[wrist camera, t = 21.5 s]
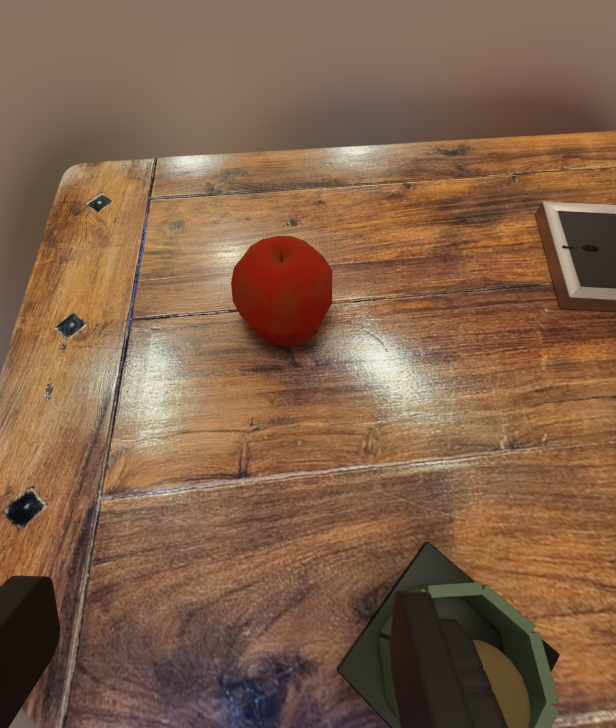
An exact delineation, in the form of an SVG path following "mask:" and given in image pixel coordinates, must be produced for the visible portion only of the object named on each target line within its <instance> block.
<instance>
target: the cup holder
mask: <svg viewBox="0 0 616 728" xmlns="http://www.w3.org/2000/svg"><path fill="white" fill-rule="evenodd" d="M396 591H419V592H429V593H430V594H431V596H432V599H433V602H434V605H435V608H436V610H437V613H438V616H439V618H441V619H456V620H457V622H458V623H459V624H460V625H461V626H462V628H463V629H464V630H465V631H466V632H467V634H468V635H469V636H470V637H471V638H472V640H480V641H483V642H486V643H488V644H490V645H492V646H494V647H496V648H497V649H498V650H500V651H501V652H502V653H503V654H504V655H505V656H506V657H508V658H509V659H510V661H511V662H512V663H513V665H514V666H515V667H516V669H517V670H518V672H519V673H520V675H521V676H522V679H523V681H524V684H525V686H526V689H527V692H528V695H529V702H530V710H531V714H530V722H529V728H551V727H552V725H553V723H554V720H555V718H556V716H557V714H558V710H557V709H556V708H555V707H554V706H553V705H552V704H559V701H558V697H557V694H556V690H555V686H554V683H553V679H552V675H551V671H552V669H553V667H554V665H555V663H556V661H557V659H558V657H559V653H557V652H556V651H555V650H554V649H553V648H552V647H550V646H549V645H548V644H547V643H546V642H545V641H543V640H542V639H541V635H540V633H539V632H533V630H534V628H535V625H534V624H532V623H531V622H530V621H529V620H528V619H527V618H525V617H524V616H523V615H522V614H521V613H519V612H518V611H517V610H516V609H515V608H514V607H512V606H511V605H510V604H509V603H508V602H507V601H505V600H504V599H503V598H502V597H501V596H499V595H498V594H497V593H496V592H495V591H494V590H492V589H491V588H490V587H489V586H488V585H481V583H480V582H474V581H473V580H472V579H471V578H470V577H469V576H467V575H466V574H465V573H464V572H463V571H462V570H460V569H459V568H458V567H457V566H456V565H455V564H453V563H452V562H451V561H450V560H449V559H448V558H446V557H445V556H444V555H443V554H442V553H441V552H439V551H438V550H437V549H436V548H435V547H434V546H432V545H431V544H430V543H429V542H425V543H424V544H423V546H422V547H421V548H420V550H419V551H418V553H417V554H416V556H415V557H414V558H413V560H412V561H411V563H410V564H409V566H408V567H407V568H406V570H405V571H404V573H403V574H402V576H401V577H400V578H399V580H398V581H397V583H396V584H395V586H394V587H393V588H392V590H391V591H390V593H389V594H388V595H387V597H386V598H385V600H384V601H383V603H382V604H381V605H380V607H379V608H378V610H377V611H376V613H375V614H374V615H373V617H372V618H371V620H370V621H369V623H368V624H367V625H366V627H365V628H364V630H363V631H362V633H361V634H360V635H359V637H358V638H357V640H356V641H355V643H354V644H353V645H352V647H351V648H350V650H349V651H348V653H347V654H346V655H345V657H344V658H343V660H342V661H341V663H340V664H339V665H338V667H337V671H338V672H339V673H340V674H341V675H342V676H343V677H344V678H345V680H346V681H347V682H348V683H349V684H350V685H351V686H352V687H353V688H354V689H355V690H356V691H357V692H358V693H359V694H360V695H361V697H362V698H363V699H364V700H365V701H366V702H367V703H368V704H369V705H370V706H371V707H372V708H373V709H374V710H375V711H376V713H377V714H378V715H379V716H380V717H381V718H382V719H383V720H384V721H385V722H386V723H387V724H388V725H389V726H390V727H391V728H401V723H400V717H399V712H398V706H397V701H396V695H395V690H394V684H393V679H392V673H391V664H390V636H391V627H392V617H393V608H394V599H395V593H396Z"/></svg>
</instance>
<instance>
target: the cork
mask: <svg viewBox="0 0 616 728" xmlns="http://www.w3.org/2000/svg"><path fill="white" fill-rule="evenodd" d="M473 641H474V644H475V646H476V649H477V651H478V654H479V656H480V659H481V661H482V664H483V669H484V671H486V674H487V676H488V679H489V681H490V684H491V686H492V692H493V693H495V696H496V698H497V701H498V703H499V706H500V708H501V711H502V713H503V716H504V718H505V721H506V723H507V726H508V728H529V722H530V714H531V710H530V702H529V695H528V692H527V689H526V686H525V684H524V681H523V679H522V676H521V675H520V673H519V672H518V670H517V669H516V667H515V666H514V665H513V663H512V662H511V661H510V659H509V658H508V657H506V656H505V655H504V654H503V653H502V652H501V651H500V650H498V649H497V648H496V647H494V646H492V645H490V644H488V643H486V642H483V641H480V640H473Z"/></svg>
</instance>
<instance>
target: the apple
mask: <svg viewBox="0 0 616 728" xmlns="http://www.w3.org/2000/svg"><path fill="white" fill-rule="evenodd" d="M231 286H232V297H233V302H234V304H235V306H236V308H237V310H238V311H239V313H240V315H241V316H242V318H243V319H244V320H245V321H246V323H247V324H248V325H249V326H250V327H251V329H252V330H253V331H254V332H255V333H256V334H257V335H258V336H259V337H260V338H262V339H265V340H267V341H269V342H271V343H274V344H282V345H292V344H296V343H299V342H303V341H305V340H307V339H308V338H309V337H311V336H312V335H314V334H315V333H316V332H317V331H318V329H319V327H320V325H321V323H322V321H323V319H324V317H325V315H326V313H327V311H328V310H329V308H330V306H331V304H332V270H331V268H330V266H329V265H328V263H327V262H326V260H325V258H324V257H323V256H322V255H321V254H320V253H319V252H317V251H316V250H315V249H314V248H313V247H312V246H310V245H309V244H308V243H307V242H305V241H303V240H300V239H298V238H295V237H292V236H276V237H271V238H267V239H263V240H261V241H259V242H257V243H255V244H253V245H252V246H250V248H249V249H248V250H247V252H246V253H245V255H244V256H243V257H242V258H241V259H240V261H239V262H238V263H237V264H236V266H235V267H234V271H233V276H232V281H231Z"/></svg>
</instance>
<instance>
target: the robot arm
mask: <svg viewBox="0 0 616 728" xmlns="http://www.w3.org/2000/svg"><path fill="white" fill-rule="evenodd" d="M59 636H60V625H59V618H58V612H57V606H56V600H55V594H54V587H53V582H52V580H51V579H50V578H49V577H42V576H12V577H10V578H9V579H8V580H7V581H6V582H5V583H4V584H3V585H2V586H1V587H0V728H8V727H9V726H10V724H11V723H12V721H13V720H14V718H15V716H16V715H17V713H18V712H19V710H20V708H21V707H22V705H23V704H24V702H25V701H26V699H27V697H28V696H29V694H30V693H31V691H32V690H33V688H34V686H35V685H36V683H37V682H38V680H39V678H40V677H41V675H42V674H43V672H44V671H45V669H46V667H47V666H48V664H49V663H50V661H51V659H52V657H53V655H54V653H55V651H56V648H57V645H58V641H59ZM390 664H391V673H392V679H393V684H394V690H395V695H396V701H397V706H398V712H399V717H400V723H401V728H508V726H507V723H506V721H505V718H504V716H503V713H502V711H501V708H500V706H499V703H498V701H497V698H496V696H495V693H493V692H492V686H491V684H490V681H489V679H488V676H487V674H486V671H484V669H483V664H482V661H481V659H480V656H479V654H478V651H477V649H476V646H475V644H474V641H473V640H472V638H471V637H470V636H469V635H468V634H467V632H466V631H465V630H464V629H463V628H462V626H461V625H460V624H459V623H458V622H457V620H456V619H441V618H439V616H438V613H437V610H436V608H435V605H434V602H433V599H432V596H431V594H430V593H429V592H419V591H396V593H395V599H394V608H393V617H392V627H391V636H390Z"/></svg>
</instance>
